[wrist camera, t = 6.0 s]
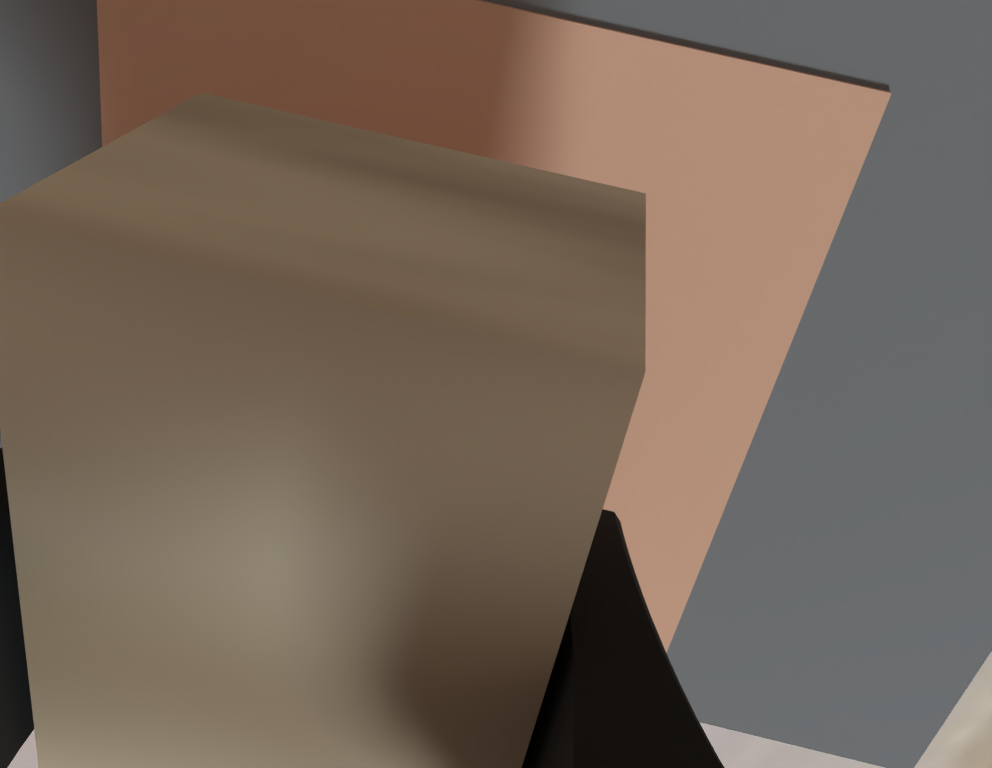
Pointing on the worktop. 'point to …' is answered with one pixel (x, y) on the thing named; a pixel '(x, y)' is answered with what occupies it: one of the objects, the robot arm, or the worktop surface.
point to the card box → (306, 440)
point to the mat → (688, 288)
